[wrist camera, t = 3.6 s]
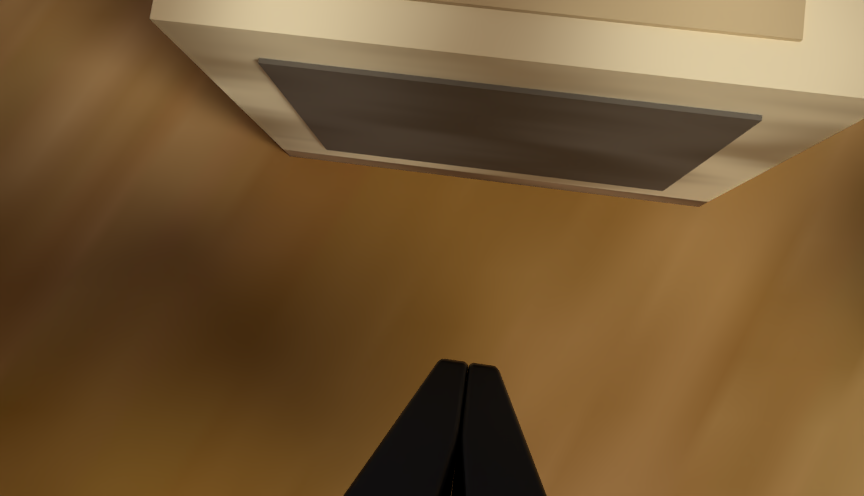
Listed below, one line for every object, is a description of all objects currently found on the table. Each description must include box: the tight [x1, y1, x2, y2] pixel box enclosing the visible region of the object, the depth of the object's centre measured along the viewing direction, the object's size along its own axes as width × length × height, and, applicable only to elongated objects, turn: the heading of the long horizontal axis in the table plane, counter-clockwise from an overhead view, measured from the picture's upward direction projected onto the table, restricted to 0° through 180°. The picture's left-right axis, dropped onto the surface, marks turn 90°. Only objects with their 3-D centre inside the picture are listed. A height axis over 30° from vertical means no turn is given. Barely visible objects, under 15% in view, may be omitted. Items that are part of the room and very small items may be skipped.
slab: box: [150, 0, 864, 207], centre depth 15 cm, size 12×4×9 cm, turn 82°
